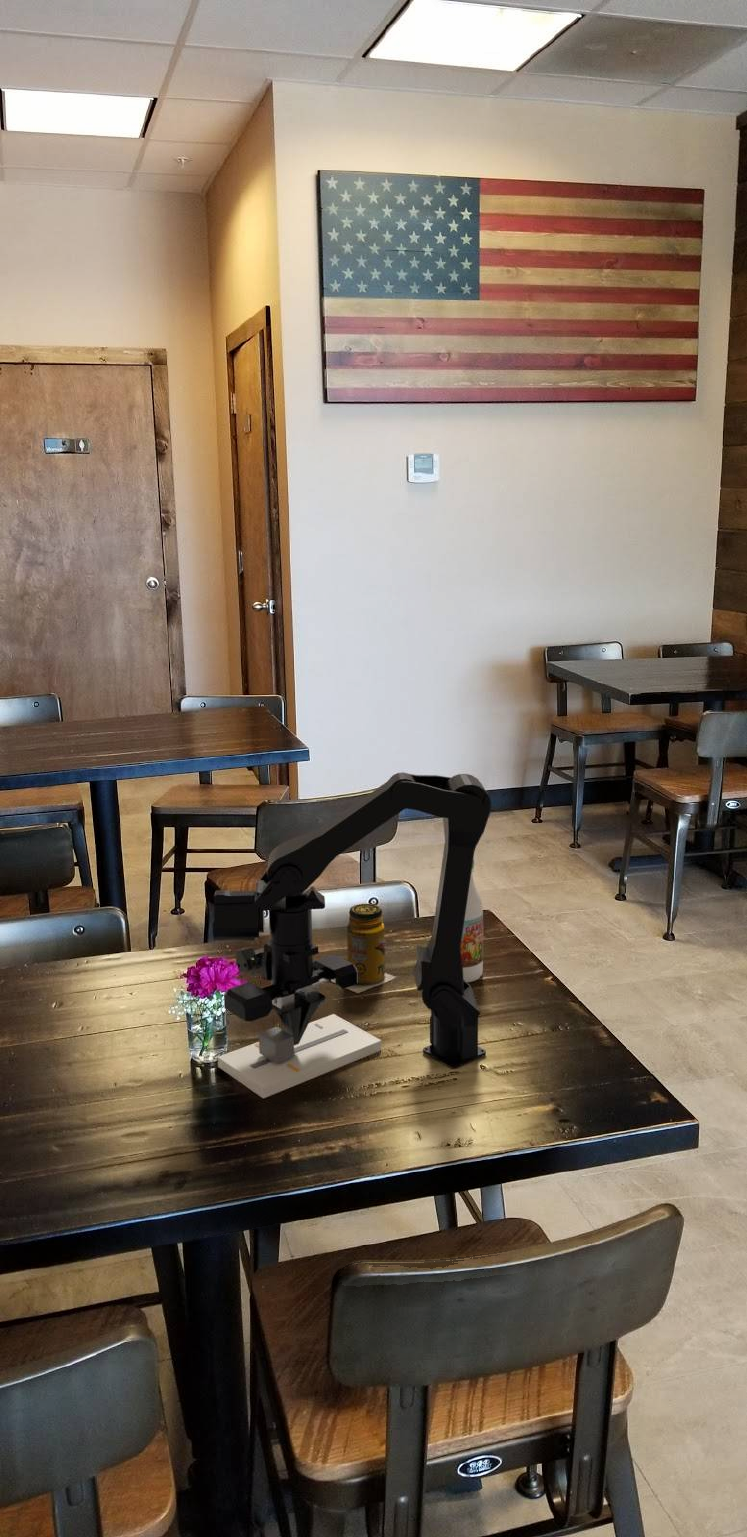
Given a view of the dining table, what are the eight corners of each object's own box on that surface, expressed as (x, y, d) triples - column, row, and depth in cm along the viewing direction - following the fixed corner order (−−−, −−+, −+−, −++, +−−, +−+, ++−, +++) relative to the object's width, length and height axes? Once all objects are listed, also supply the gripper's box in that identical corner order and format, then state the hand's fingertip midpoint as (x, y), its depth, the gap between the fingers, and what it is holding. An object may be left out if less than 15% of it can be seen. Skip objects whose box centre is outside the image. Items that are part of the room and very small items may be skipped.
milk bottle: (430, 981, 181) (429, 863, 176) (441, 962, 188) (441, 848, 183) (477, 987, 179) (478, 867, 174) (486, 967, 186) (488, 852, 181)
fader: (294, 1057, 153) (293, 1036, 153) (276, 1064, 151) (275, 1043, 151) (277, 1046, 156) (276, 1026, 156) (259, 1053, 154) (258, 1033, 154)
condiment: (396, 978, 182) (395, 908, 180) (358, 994, 177) (356, 922, 174) (365, 965, 188) (364, 897, 185) (327, 980, 182) (325, 910, 179)
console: (381, 1050, 159) (381, 1039, 158) (263, 1098, 146) (262, 1087, 146) (333, 1023, 167) (333, 1013, 167) (218, 1066, 155) (217, 1056, 154)
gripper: (311, 905, 164) (314, 1004, 167) (199, 938, 152) (205, 1043, 156) (359, 927, 155) (361, 1031, 159) (245, 963, 144) (249, 1074, 148)
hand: (294, 1043), depth 156 cm, fingers closed
